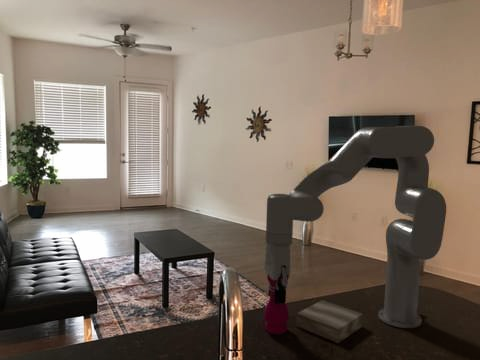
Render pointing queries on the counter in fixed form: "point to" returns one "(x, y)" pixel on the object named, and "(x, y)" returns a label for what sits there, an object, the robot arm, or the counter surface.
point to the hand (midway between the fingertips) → (276, 298)
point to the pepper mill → (275, 312)
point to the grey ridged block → (329, 320)
